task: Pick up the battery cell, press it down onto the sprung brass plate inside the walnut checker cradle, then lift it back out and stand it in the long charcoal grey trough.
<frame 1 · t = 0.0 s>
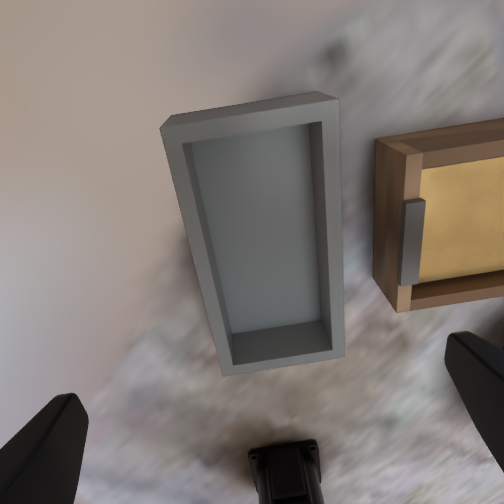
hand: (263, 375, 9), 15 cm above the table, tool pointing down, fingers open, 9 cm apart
checker cradle: (448, 203, 23), on the table
trough: (262, 232, 23), on the table
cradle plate: (472, 218, 21), point 3 cm above the table, slide at 0.0 cm
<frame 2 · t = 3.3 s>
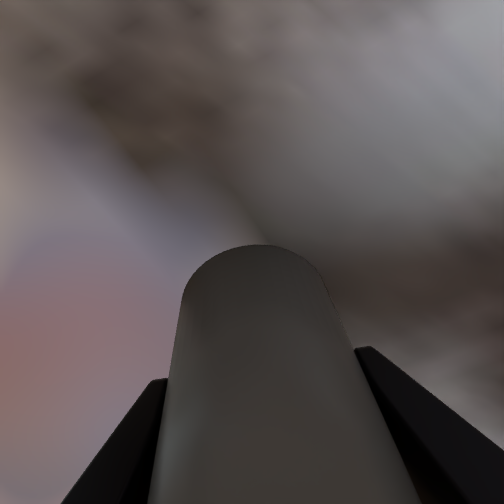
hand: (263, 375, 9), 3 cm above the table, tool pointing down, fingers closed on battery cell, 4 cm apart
battery cell: (254, 309, 11), on the table, touching gripper
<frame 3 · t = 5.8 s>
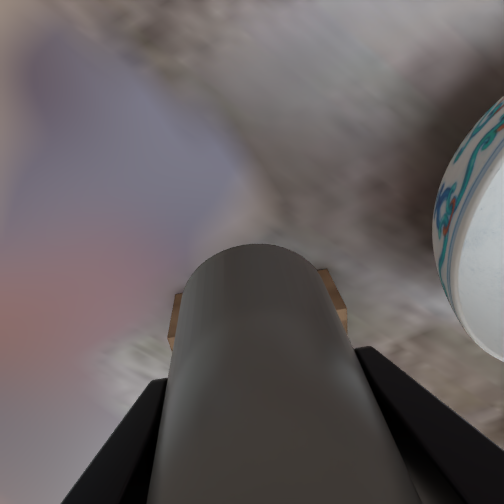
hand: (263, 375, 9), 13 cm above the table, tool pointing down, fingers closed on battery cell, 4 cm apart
battery cell: (254, 308, 11), point 10 cm above the table, touching gripper
checker cradle: (261, 338, 25), on the table
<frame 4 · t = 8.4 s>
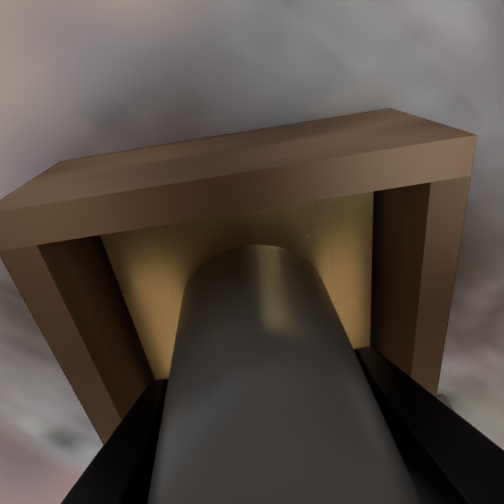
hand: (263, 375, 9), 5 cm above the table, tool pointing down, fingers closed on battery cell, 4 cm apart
battery cell: (255, 309, 11), point 2 cm above the table, touching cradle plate, gripper
checker cradle: (249, 274, 13), on the table
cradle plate: (252, 300, 11), point 1 cm above the table, slide at -1.0 cm, touching battery cell
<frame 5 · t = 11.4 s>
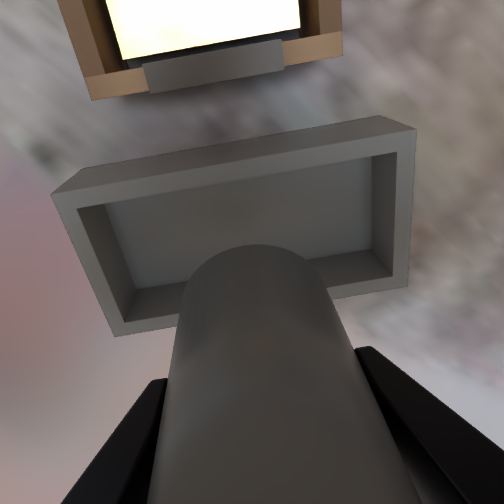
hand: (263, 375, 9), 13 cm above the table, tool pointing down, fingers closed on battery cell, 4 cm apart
battery cell: (254, 309, 11), point 10 cm above the table, touching gripper
trough: (243, 213, 21), on the table
when the fingers open (4 cm above the table, at t = 13.9 s): battery cell stays where it is, resting on trough.
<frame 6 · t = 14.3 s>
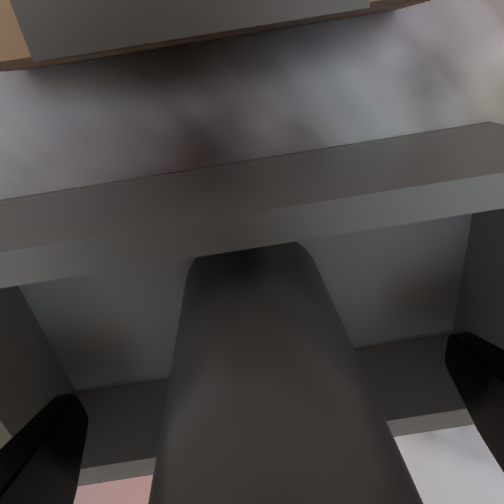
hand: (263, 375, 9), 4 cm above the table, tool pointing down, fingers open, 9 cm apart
battery cell: (253, 291, 12), point 1 cm above the table, touching trough
trough: (249, 276, 13), on the table
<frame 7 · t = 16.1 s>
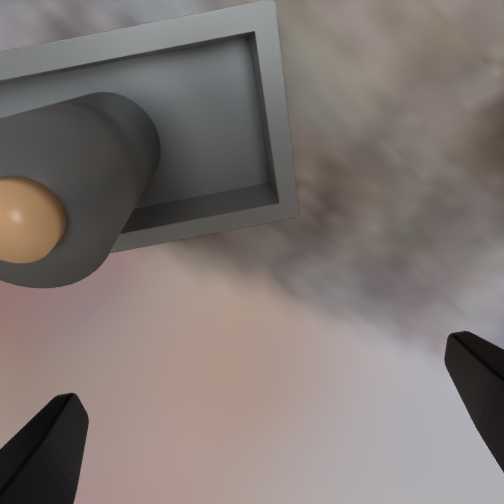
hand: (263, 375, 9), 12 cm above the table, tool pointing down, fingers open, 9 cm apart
battery cell: (111, 144, 17), point 1 cm above the table, touching trough
trough: (115, 140, 18), on the table
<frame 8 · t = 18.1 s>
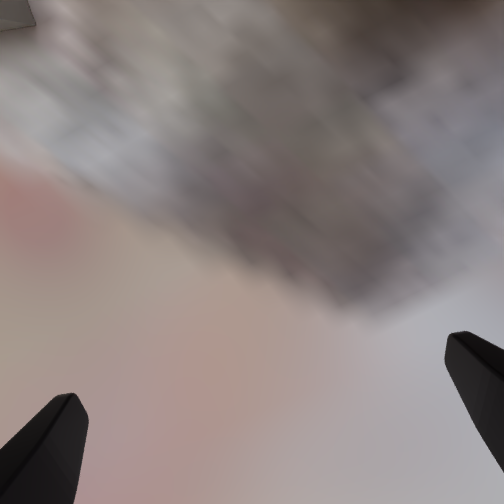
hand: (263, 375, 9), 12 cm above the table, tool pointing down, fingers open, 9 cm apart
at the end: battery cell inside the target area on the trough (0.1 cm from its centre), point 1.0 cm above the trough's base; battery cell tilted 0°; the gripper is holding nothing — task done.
